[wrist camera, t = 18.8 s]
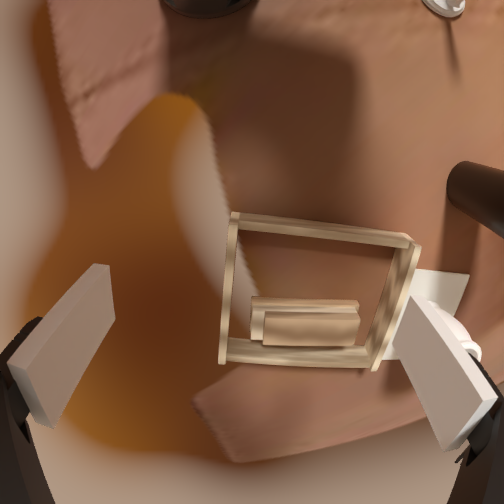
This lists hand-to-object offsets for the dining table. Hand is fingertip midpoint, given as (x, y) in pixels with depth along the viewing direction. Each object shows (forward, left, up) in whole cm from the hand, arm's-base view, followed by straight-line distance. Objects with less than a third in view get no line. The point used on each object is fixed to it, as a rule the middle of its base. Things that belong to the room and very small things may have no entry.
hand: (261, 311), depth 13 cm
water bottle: (-4, +35, -35) cm, 50 cm away
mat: (+22, +34, -35) cm, 53 cm away
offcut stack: (+22, +11, -35) cm, 43 cm away
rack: (+18, +11, -35) cm, 41 cm away
